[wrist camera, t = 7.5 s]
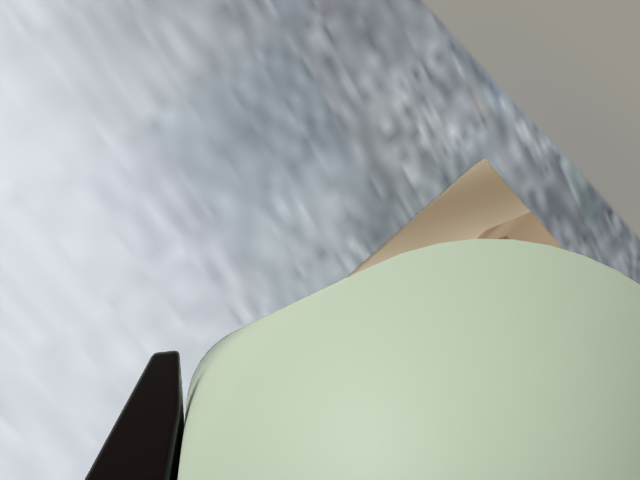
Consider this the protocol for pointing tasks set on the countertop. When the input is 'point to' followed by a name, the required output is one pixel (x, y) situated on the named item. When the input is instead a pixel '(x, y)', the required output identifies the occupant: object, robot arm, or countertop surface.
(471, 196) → the socket base
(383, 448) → the post
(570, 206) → the countertop surface
